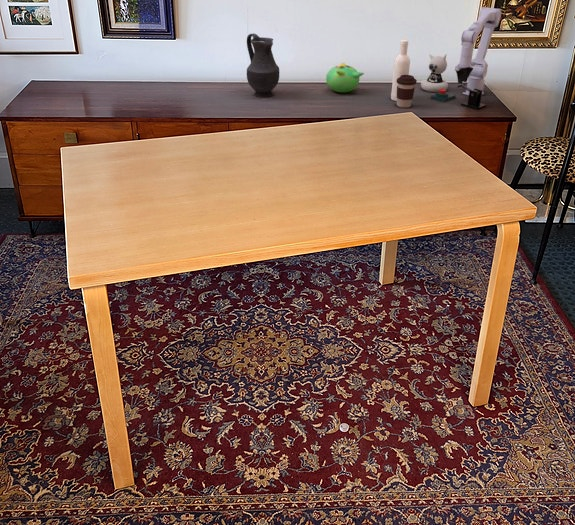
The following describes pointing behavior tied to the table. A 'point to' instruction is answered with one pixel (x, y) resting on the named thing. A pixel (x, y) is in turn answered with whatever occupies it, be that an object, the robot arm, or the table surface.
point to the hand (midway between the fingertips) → (462, 82)
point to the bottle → (400, 67)
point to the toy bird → (343, 78)
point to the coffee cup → (405, 90)
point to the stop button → (442, 91)
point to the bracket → (474, 100)
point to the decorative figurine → (435, 75)
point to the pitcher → (261, 66)
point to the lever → (467, 88)
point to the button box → (442, 96)
